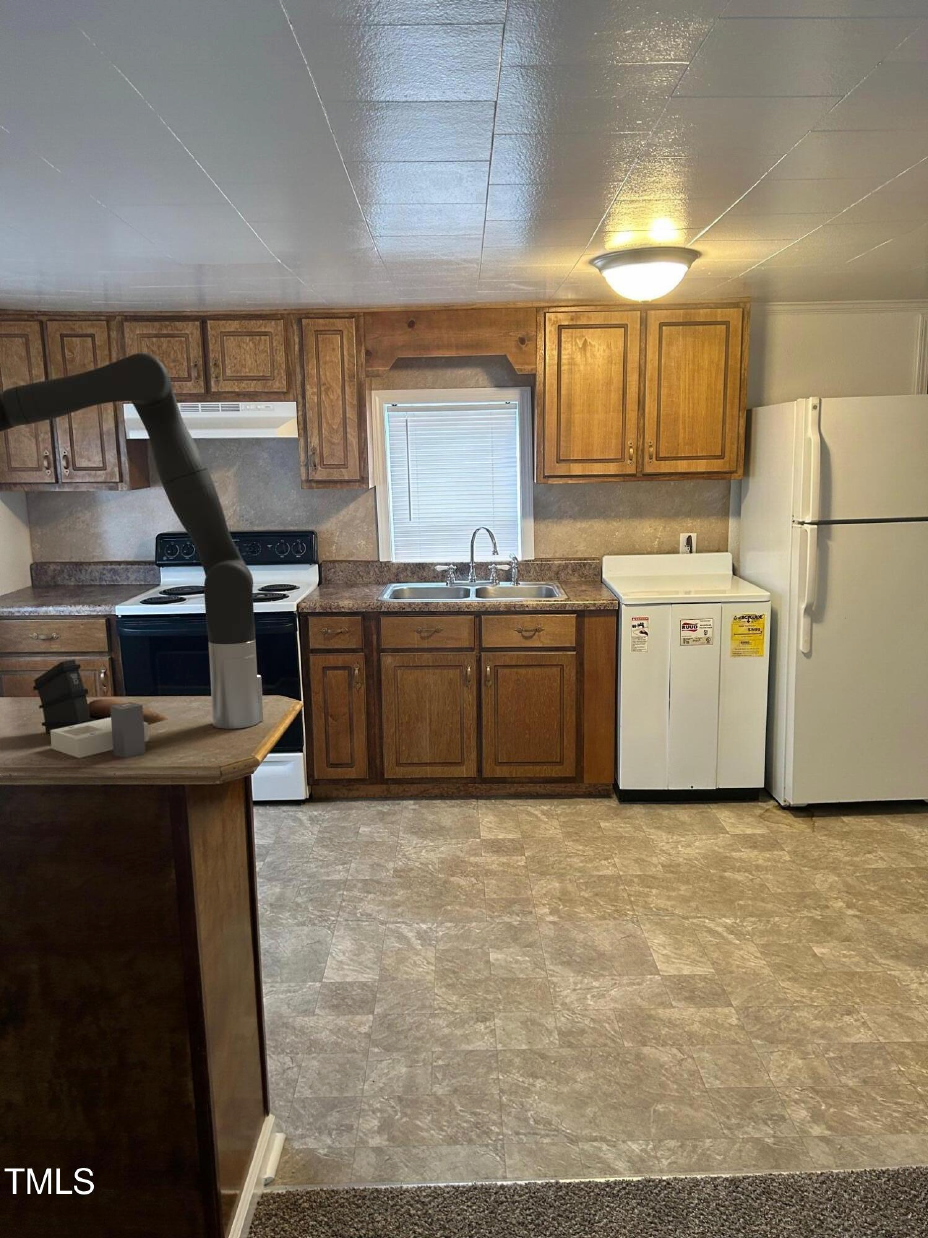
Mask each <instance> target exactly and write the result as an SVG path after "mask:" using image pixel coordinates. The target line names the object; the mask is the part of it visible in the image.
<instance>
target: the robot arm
mask: <svg viewBox="0 0 928 1238" xmlns="http://www.w3.org/2000/svg"><path fill="white" fill-rule="evenodd" d="M177 401H178V400H177V399H176V394H175V391H174V388H173V384H172V379H171V376H170V373H169V370H168V369H167V368H166V367H165V366H164V364H163V363H162V362H161V361H160V360H159V359H158V358H156V357H155V356H153V355H152V354H150V353H149V354H148V353H143V352H138V353H134V354H130V355H128V356H126V357H123V358H121V359H118V360H115V361H113V362H111V363H108V364H106V365H103V366H100V367H98V368H94V369H91V370H87V371H84V372H80V373H76V374H72V375H66V376H62V377H57V378H53V379H47V380H42V381H37V382H31V383H26V384H23V385H18V386H13V387H10V388H6V389H4V390H3V392H1V393H0V432H1V433H2V432H5V431H7V430H10V429H14V428H15V427H19V426H26V425H32V424H37V423H40V422H45V421H50V420H53V419H59V418H62V417H64V416H67V415H71V414H72V413H75V412H78V411H81V410H83V409H87V408H90V407H95V406H98V405H103V404H108V403H117V402H118V403H119V402H131V403H132V406H133V407H134V408H135V409H134V410H135V411H136V413H137V414H138V416H139V418H140V420H141V423H142V424H143V426H144V428H145V430H146V433H147V436H148V439H149V443H150V447H151V449H152V455H153V460H154V462H155V463H154V464H155V466H156V471H157V473H158V477H159V480H160V483H161V485H162V487H163V489H164V492H165V495H166V496H167V499H168V502H169V503H170V506H171V508H172V510H173V511H174V514H175V515H176V517H177V518H178V520H179V522H180V524H181V525H182V527H183V529H184V530H185V531H186V533H187V534H188V536H189V538H190V539H191V541H192V542H193V545H194V546H195V549H196V551H197V554H198V556H199V559H200V563H201V565H202V568H203V571H204V575H205V576H204V577H205V578H204V582H203V583H204V584H203V592H204V595H203V596H204V607H205V609H204V610H205V623H206V630H207V639H208V640H207V641H208V655H209V675H210V676H209V677H210V691H211V694H210V695H211V709H212V712H211V713H212V725H213V727H215V728H217V729H218V728H219V729H229V730H230V729H232V730H233V729H243V728H248V727H253V726H256V725H257V724H259V723H260V722H264V706H263V705H264V703H263V701H264V699H263V685H262V684H263V682H262V681H263V680H262V676H261V675H260V674H258V666H257V664H258V663H257V662H258V661H257V645H256V625H255V613H254V612H255V611H254V610H255V609H254V594H253V593H254V591H253V588H254V578H253V575H252V572H251V570H250V569H249V568H248V566H247V564H246V562H245V561H244V559H243V556H241V553H240V551H239V550H238V548H237V546H236V544H235V542H234V540H233V537H232V536H231V532H230V531H229V527H228V524H227V520H226V517H225V513H224V510H223V506H222V504H221V501H220V498H219V495H218V492H217V489H216V485H215V483H214V481H213V478H212V477H211V474H210V472H209V469H208V466H207V465H206V463H205V460H204V458H203V456H202V453H201V452H200V450H199V447H198V446H197V443H196V442H195V441H194V439H193V437H192V435H191V433H190V431H189V430H188V428H187V426H186V424H185V422H184V419H183V417H182V414H181V410H180V408H179V404H178V402H177Z"/></svg>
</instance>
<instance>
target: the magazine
mask: <svg viewBox="0 0 928 1238" xmlns="http://www.w3.org/2000/svg"><path fill="white" fill-rule="evenodd" d="M81 668H82V667H81V664H80V663H77V661H76V659H71V660H65V661H60V662H59V663H57V664H56V665H55V666H53V667H51V668H50V669H48V670H46V672H44V673H42V674H41V675H40V676H38V677H36V678H34V680H33V683H34V686H32V688H33V689H32V690H33V691H37V693H38V697H39V698H40V703H41V704H39V705H38V709H39V710H40V709H42V712H43V719H44V721H43V722H41V726H42V727H44V728H45V733H46V734H50V735H51V733H50V730H54V729H59V728H64V727H68V726H73V725H78V724H82V723H87V722H92V721H94V718H93V717H91V716H90V715H89V708H88V704H89V703H88V699H87V695H88V694H89V689H88V688H85V687H84V683H83V679H82V676H81V673H80V669H81Z"/></svg>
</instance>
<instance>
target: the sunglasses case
mask: <svg viewBox="0 0 928 1238" xmlns="http://www.w3.org/2000/svg"><path fill="white" fill-rule="evenodd" d="M128 702H129V701H128ZM128 702H127V701H123V700H118V699H110V698H101V699H94V700H91V701H89V703H88V708H89V715H90V717H96V718H97V717H99V718H104V719H106V718H110V717H111V711H110V706H113V705H118V704H123V703H128ZM168 720H169V718H167V717H166V716H164V715H162V714H160V713H158V712H156V711H153V710H150V709H148V708H143V721H144V722H146V723H148V726H149V725H153V724H156V723H161V722H163V721H168Z"/></svg>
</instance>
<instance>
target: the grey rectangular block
mask: <svg viewBox="0 0 928 1238" xmlns="http://www.w3.org/2000/svg"><path fill="white" fill-rule="evenodd" d="M143 706H144V705H143V704H139V703H136V702H131V701H128V703H123V704H118V705H113V706H110V711H111V725H112V739H113V755H114V756H117V757H121V758H123V759H129V758H131V757H132V758H133V757H137V756H140V755H144V754H146V742H145V736H144V721H143Z"/></svg>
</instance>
